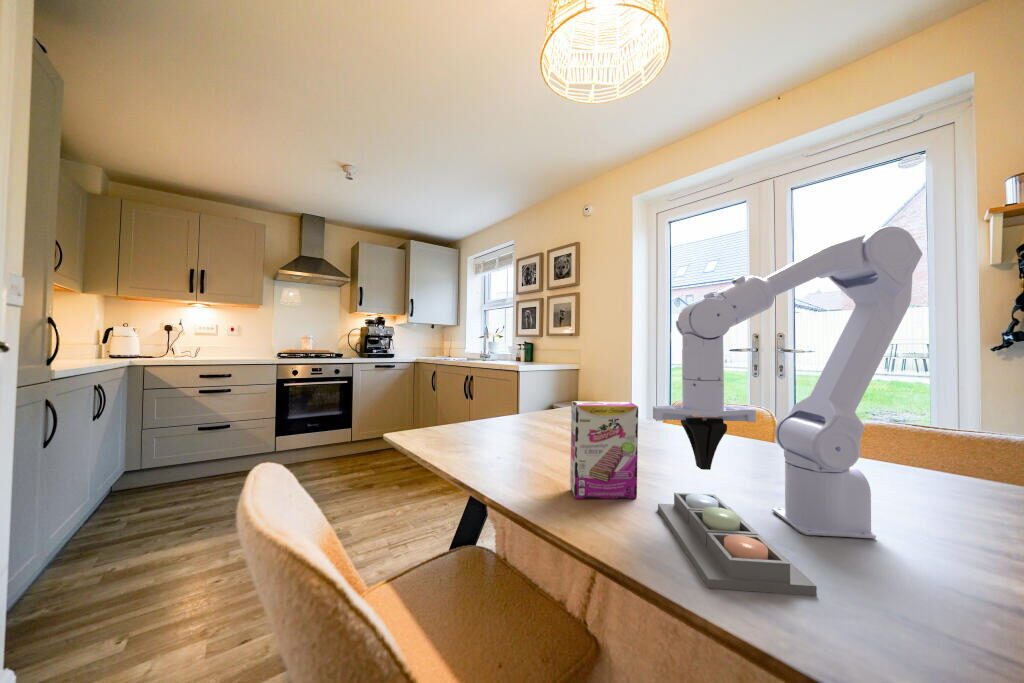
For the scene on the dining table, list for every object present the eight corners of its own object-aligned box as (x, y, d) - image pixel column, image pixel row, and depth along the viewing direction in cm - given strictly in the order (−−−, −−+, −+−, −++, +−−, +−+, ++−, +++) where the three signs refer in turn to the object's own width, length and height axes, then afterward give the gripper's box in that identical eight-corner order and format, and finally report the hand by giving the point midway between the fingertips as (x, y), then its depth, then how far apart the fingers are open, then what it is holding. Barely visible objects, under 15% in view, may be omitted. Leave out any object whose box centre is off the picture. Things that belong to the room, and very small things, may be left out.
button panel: (729, 513, 60) (729, 494, 60) (816, 595, 40) (816, 567, 40) (658, 509, 61) (657, 491, 61) (708, 588, 41) (708, 560, 42)
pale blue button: (711, 507, 59) (711, 494, 59) (723, 520, 55) (723, 506, 55) (681, 506, 60) (681, 493, 60) (692, 518, 55) (692, 504, 55)
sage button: (730, 522, 53) (730, 507, 53) (746, 538, 48) (746, 522, 48) (697, 520, 53) (697, 506, 53) (710, 536, 49) (710, 520, 49)
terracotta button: (755, 552, 46) (755, 536, 46) (776, 573, 42) (776, 555, 42) (717, 550, 47) (717, 533, 47) (734, 571, 42) (734, 553, 42)
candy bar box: (575, 500, 65) (575, 404, 65) (569, 489, 70) (569, 400, 70) (639, 499, 65) (639, 404, 66) (629, 488, 70) (629, 400, 71)
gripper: (739, 377, 62) (739, 461, 61) (647, 376, 63) (647, 458, 63) (763, 381, 55) (764, 475, 54) (659, 380, 56) (660, 472, 56)
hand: (703, 467), depth 58 cm, fingers closed
